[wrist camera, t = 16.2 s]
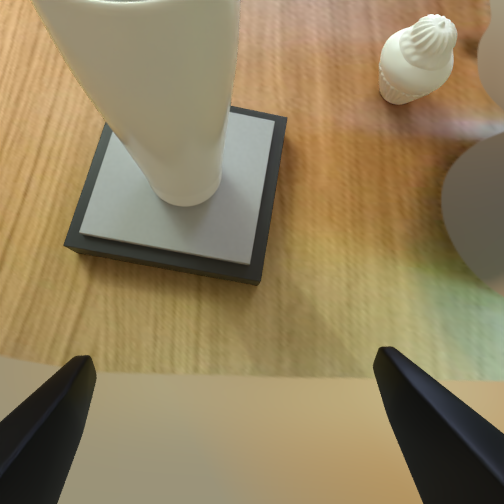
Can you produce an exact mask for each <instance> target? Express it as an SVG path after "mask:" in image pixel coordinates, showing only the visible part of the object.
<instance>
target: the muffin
mask: <svg viewBox="0 0 504 504" xmlns="http://www.w3.org/2000/svg"><path fill="white" fill-rule="evenodd" d="M456 39H457V30H456V29H455V25H454V24H453V23H451V20H450V19H446V18H445V16H442V17H441V16H440V15H439V14H437V15H432V14H431V15H428V16H427V17H423V18H421V19H420V20H419V21H418V22H417V23H415V24H414V25H413V26H411V27H409V28H405V29H403V30H400V31H398V32H396V33H395V34H393V35H392V36H391V37H390V38H389V39H388V40H387V41H386V43H385V45H384V47H383V49H382V52H381V58H380V63H379V90H380V93H381V96H383V98H384V99H385V100H387V101H388V102H390V103H391V104H392V103H393V104H394V105H395V104H397V105H401V104H405V103H408V102H410V101H413V100H416V99H418V98H421V97H423V96H426V95H428V94H429V93H430V92H433V91H435V90H436V89H438V88H439V87H441V86H442V85H443V84H444V83H445V82H446V80H447V79H448V77H449V76H450V74H451V71H452V68H453V48H454V47H455V44H456Z"/></svg>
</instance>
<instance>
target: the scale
mask: <svg viewBox="0 0 504 504" xmlns="http://www.w3.org/2000/svg"><path fill="white" fill-rule="evenodd" d="M286 123H287V117H283V116H278V115H273V114H268V113H263V112H258V111H254V110H249V109H244V108H239V107H234V106H231V107H230V113H229V120H228V126H227V133H226V140H225V147H224V154H223V161H222V179H221V183H220V185H219V187H218V189H217V191H216V192H215V193H214V195H213V196H212V197H210V198H209V199H208V200H207V201H205V202H203V203H201V204H198V205H195V206H190V207H181V206H175V205H172V204H169V203H167V202H165V201H164V200H162V199H161V198H159V197H158V196H157V195H156V194H155V192H154V191H153V190H152V188H151V187H150V185H149V183H148V181H147V179H146V177H145V176H144V174H143V173H142V171H141V170H140V169H139V167H138V166H137V164H136V163H135V161H134V160H133V159H132V157H131V156H130V154H129V153H128V152H127V150H126V149H125V147H124V146H123V145H122V143H121V142H120V141H119V139H118V138H117V136H116V135H115V134H114V132H113V131H112V130H111V128H110V127H109V125H108V124H107V123H106V122H105V125H104V128H103V131H102V134H101V137H100V140H99V143H98V146H97V149H96V152H95V155H94V158H93V160H92V163H91V166H90V169H89V172H88V175H87V178H86V181H85V184H84V187H83V190H82V193H81V195H80V198H79V201H78V204H77V207H76V210H75V213H74V216H73V219H72V222H71V225H70V228H69V230H68V233H67V236H66V239H65V242H64V246H65V247H67V248H69V249H71V250H73V251H74V252H76V253H81V254H87V255H92V256H98V257H103V258H109V259H114V260H120V261H125V262H131V263H136V264H142V265H147V266H153V267H158V268H164V269H169V270H175V271H180V272H186V273H191V274H197V275H202V276H208V277H213V278H219V279H224V280H230V281H235V282H241V283H246V284H252V285H258V284H259V283H260V281H261V277H262V270H263V264H264V258H265V252H266V246H267V240H268V234H269V227H270V221H271V215H272V209H273V203H274V197H275V191H276V185H277V178H278V172H279V166H280V160H281V154H282V148H283V142H284V135H285V129H286Z"/></svg>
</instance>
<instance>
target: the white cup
mask: <svg viewBox="0 0 504 504" xmlns="http://www.w3.org/2000/svg"><path fill="white" fill-rule="evenodd" d="M31 2H32V4H33V6H34V8H35V10H36V12H37V14H38V15H39V17H40V19H41V21H42V23H43V25H44V26H45V28H46V30H47V32H48V34H49V35H50V37H51V39H52V41H53V42H54V44H55V46H56V48H57V49H58V51H59V53H60V54H61V56H62V58H63V59H64V61H65V63H66V64H67V66H68V67H69V69H70V71H71V72H72V74H73V75H74V77H75V78H76V80H77V81H78V83H79V84H80V86H81V87H82V89H83V90H84V92H85V93H86V95H87V96H88V98H89V99H90V100H91V102H92V103H93V105H94V106H95V107H96V109H97V110H98V112H99V113H100V114H101V116H102V117H103V119H104V120H105V121H106V123H107V124H108V125H109V127H110V128H111V130H112V131H113V132H114V134H115V135H116V136H117V138H118V139H119V141H120V142H121V143H122V145H123V146H124V147H125V149H126V150H127V152H128V153H129V154H130V156H131V157H132V159H133V160H134V161H135V163H136V164H137V166H138V167H139V169H140V170H141V171H142V173H143V174H144V176H145V177H146V179H147V181H148V183H149V185H150V187H151V188H152V190H153V191H154V192H155V194H156V195H157V196H158V197H159V198H161V199H162V200H164V201H165V202H167V203H169V204H172V205H175V206H181V207H190V206H195V205H198V204H201V203H203V202H205V201H207V200H208V199H209V198H210V197H212V196H213V195H214V193H215V192H216V191H217V189H218V187H219V185H220V183H221V179H222V161H223V154H224V147H225V140H226V133H227V126H228V120H229V113H230V107H231V100H232V94H233V87H234V80H235V73H236V64H237V56H238V45H239V30H240V7H241V0H31Z"/></svg>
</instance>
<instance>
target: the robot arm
mask: <svg viewBox="0 0 504 504" xmlns="http://www.w3.org/2000/svg"><path fill="white" fill-rule="evenodd" d="M373 370H374V374H375V377H376V380H377V384H378V387H379V390H380V394H381V397H382V400H383V404H384V407H385V410H386V413H387V416H388V419H389V422H390V424H391V427H392V429H393V431H394V434H395V436H396V439H397V441H398V444H399V446H400V448H401V451H402V453H403V455H404V458H405V460H406V463H407V465H408V468H409V470H410V473H411V475H412V477H413V480H414V482H415V485H416V487H417V489H418V492H419V494H420V497H421V499H422V502H423V504H504V434H503V433H502V432H500V430H498V429H497V428H496V427H494V426H493V425H492V424H491V423H489V422H488V421H487V420H486V419H484V418H483V417H482V416H481V415H479V414H478V413H477V412H475V411H474V410H473V409H472V408H470V407H469V406H468V405H466V404H465V403H464V402H463V401H461V400H460V399H459V398H458V397H456V396H455V395H454V394H452V393H451V392H450V391H449V390H447V389H446V388H445V387H444V386H442V385H441V384H440V383H439V382H437V381H436V380H435V379H434V378H432V377H431V376H430V375H428V374H427V373H426V372H425V371H423V370H422V369H421V368H420V367H418V366H417V365H416V364H414V363H413V362H412V361H411V360H409V359H408V358H407V357H406V356H404V355H403V354H402V353H401V352H399V351H398V350H397V349H395V348H394V347H390V346H389V347H380V348H379V349H378V352H377V355H376V358H375V360H374V363H373ZM95 383H96V371H95V367H94V364H93V361H92V358H91V357H90V356H88V355H83V356H75V357H73V358H72V359H71V360H70V361H69V362H67V363H66V364H65V365H64V366H63V367H62V368H61V369H60V370H58V371H57V372H56V373H55V374H54V375H53V376H52V377H51V378H49V379H48V380H47V381H46V382H45V383H44V384H43V385H42V386H41V387H39V388H38V389H37V390H36V391H35V392H34V393H32V394H31V395H30V396H29V397H28V398H27V399H26V400H25V401H23V402H22V403H21V404H20V405H19V406H18V407H17V408H15V409H14V410H13V411H12V412H11V413H10V414H9V415H8V416H7V417H5V418H4V419H3V420H2V421H1V422H0V504H57V503H58V500H59V497H60V494H61V491H62V489H63V486H64V484H65V481H66V478H67V475H68V472H69V470H70V467H71V464H72V461H73V459H74V456H75V454H76V451H77V448H78V445H79V443H80V440H81V437H82V434H83V430H84V427H85V423H86V419H87V415H88V410H89V407H90V403H91V399H92V395H93V391H94V387H95Z"/></svg>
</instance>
